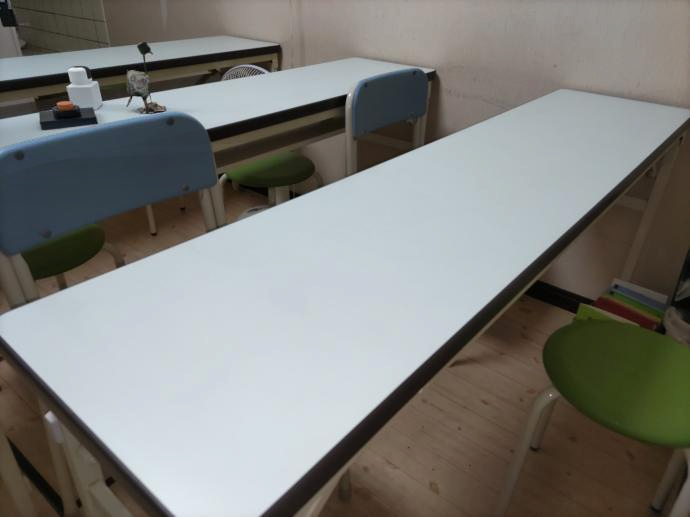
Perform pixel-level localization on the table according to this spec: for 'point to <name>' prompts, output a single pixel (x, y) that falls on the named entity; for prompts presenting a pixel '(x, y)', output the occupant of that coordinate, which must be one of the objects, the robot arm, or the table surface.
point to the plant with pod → (141, 84)
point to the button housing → (67, 117)
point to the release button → (65, 105)
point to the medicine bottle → (83, 88)
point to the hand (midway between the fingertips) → (10, 26)
